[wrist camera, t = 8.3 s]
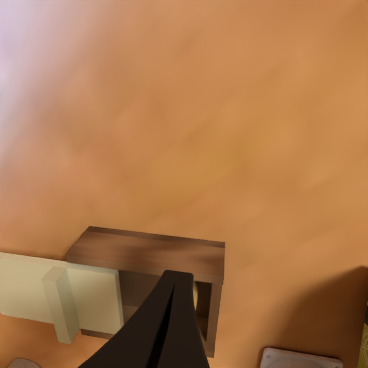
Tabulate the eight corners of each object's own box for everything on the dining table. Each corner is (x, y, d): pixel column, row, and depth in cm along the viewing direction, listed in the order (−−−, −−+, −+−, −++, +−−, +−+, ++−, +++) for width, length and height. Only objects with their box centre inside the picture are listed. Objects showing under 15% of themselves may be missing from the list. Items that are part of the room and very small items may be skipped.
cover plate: (118, 268, 22) (106, 290, 20) (124, 328, 25) (115, 352, 23) (-16, 249, 24) (-39, 268, 22) (6, 308, 27) (-12, 329, 25)
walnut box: (224, 242, 24) (223, 276, 20) (215, 317, 28) (213, 357, 24) (89, 226, 25) (65, 254, 22) (100, 299, 30) (81, 334, 26)
